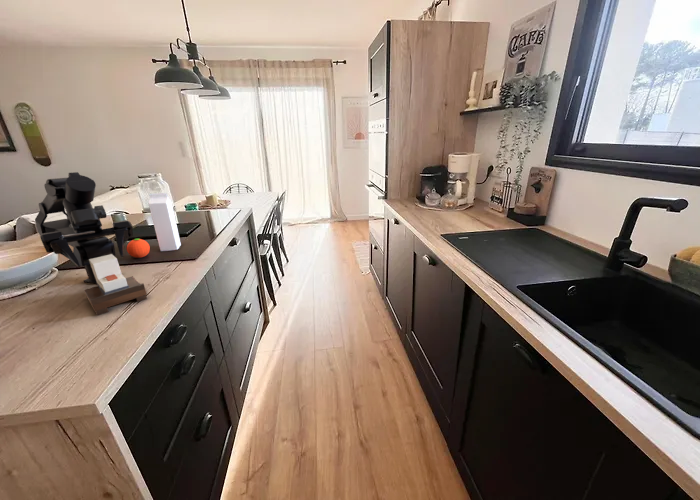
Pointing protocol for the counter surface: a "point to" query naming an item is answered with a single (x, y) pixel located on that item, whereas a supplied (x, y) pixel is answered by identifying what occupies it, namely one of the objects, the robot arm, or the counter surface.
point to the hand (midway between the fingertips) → (101, 260)
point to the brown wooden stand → (115, 295)
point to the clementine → (138, 248)
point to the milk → (164, 222)
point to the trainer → (108, 274)
